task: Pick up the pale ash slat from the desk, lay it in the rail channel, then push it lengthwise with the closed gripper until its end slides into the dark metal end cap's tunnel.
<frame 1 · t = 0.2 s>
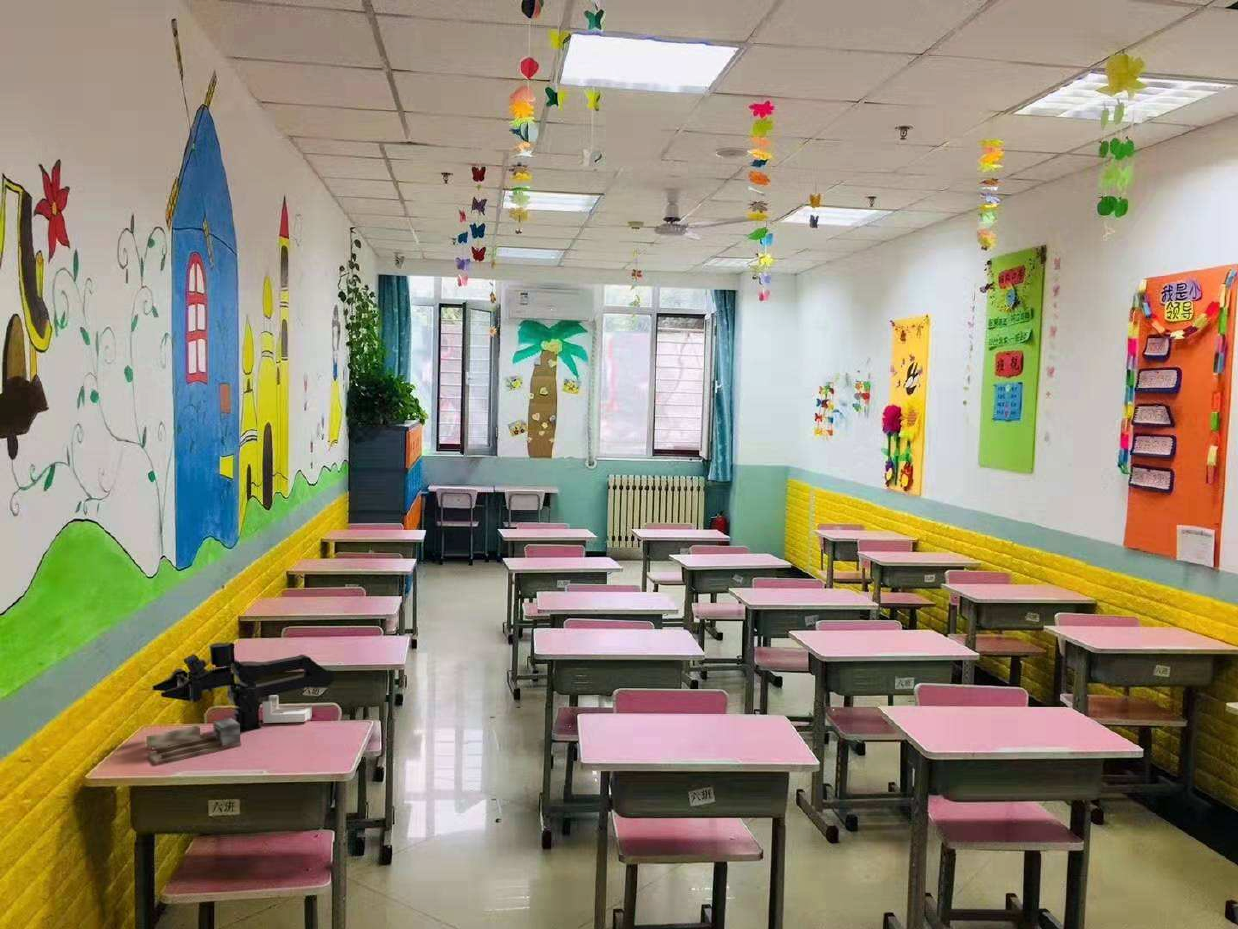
hand: (156, 691, 272), 17 cm above the table, tool horizontal, fingers open, 9 cm apart
slat base: (200, 750, 270), on the table
slat: (174, 743, 277), on the table
bracket: (287, 722, 296), on the table
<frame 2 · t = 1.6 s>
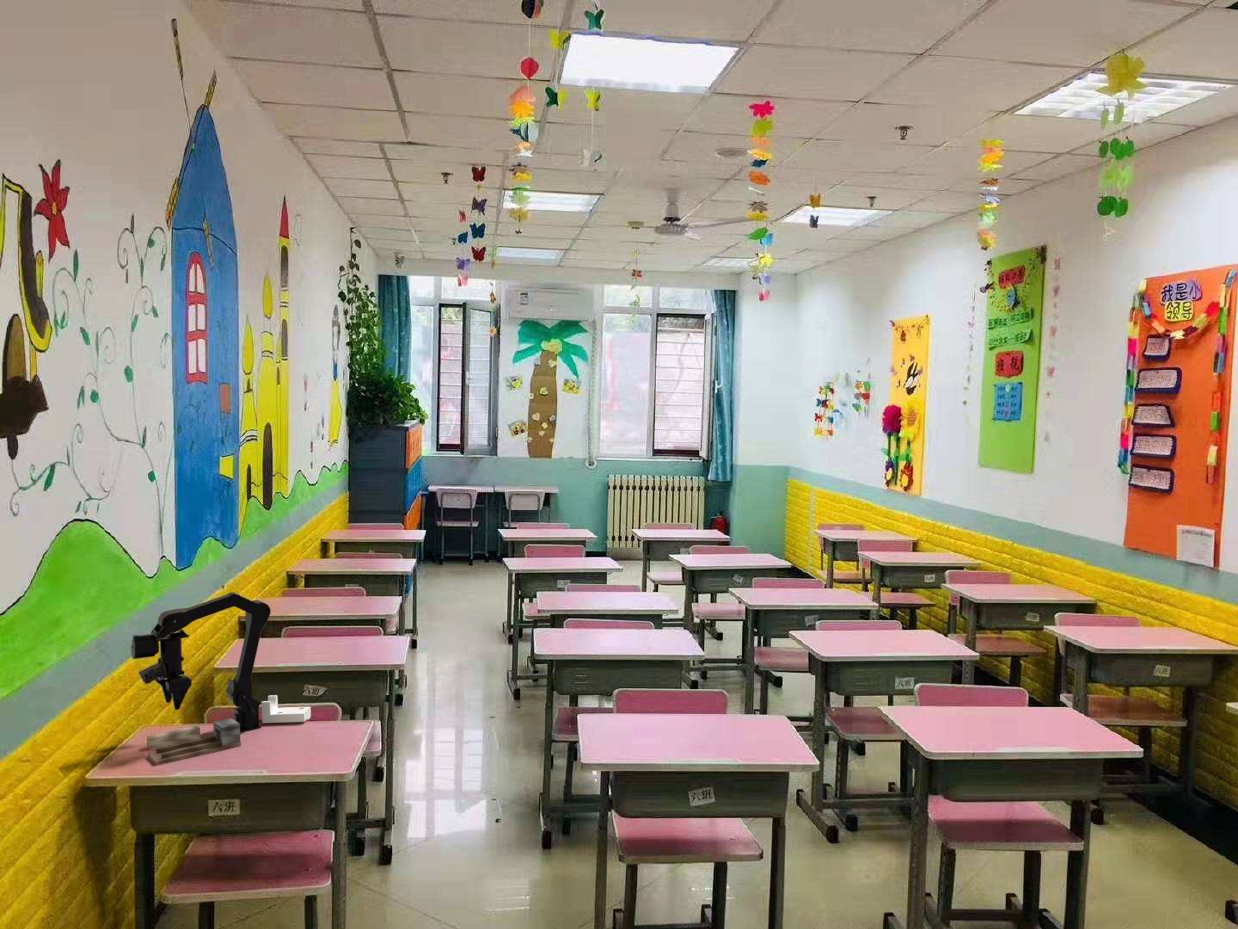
hand: (172, 706, 276), 11 cm above the table, tool pointing down, fingers open, 9 cm apart
nothing on the table moved.
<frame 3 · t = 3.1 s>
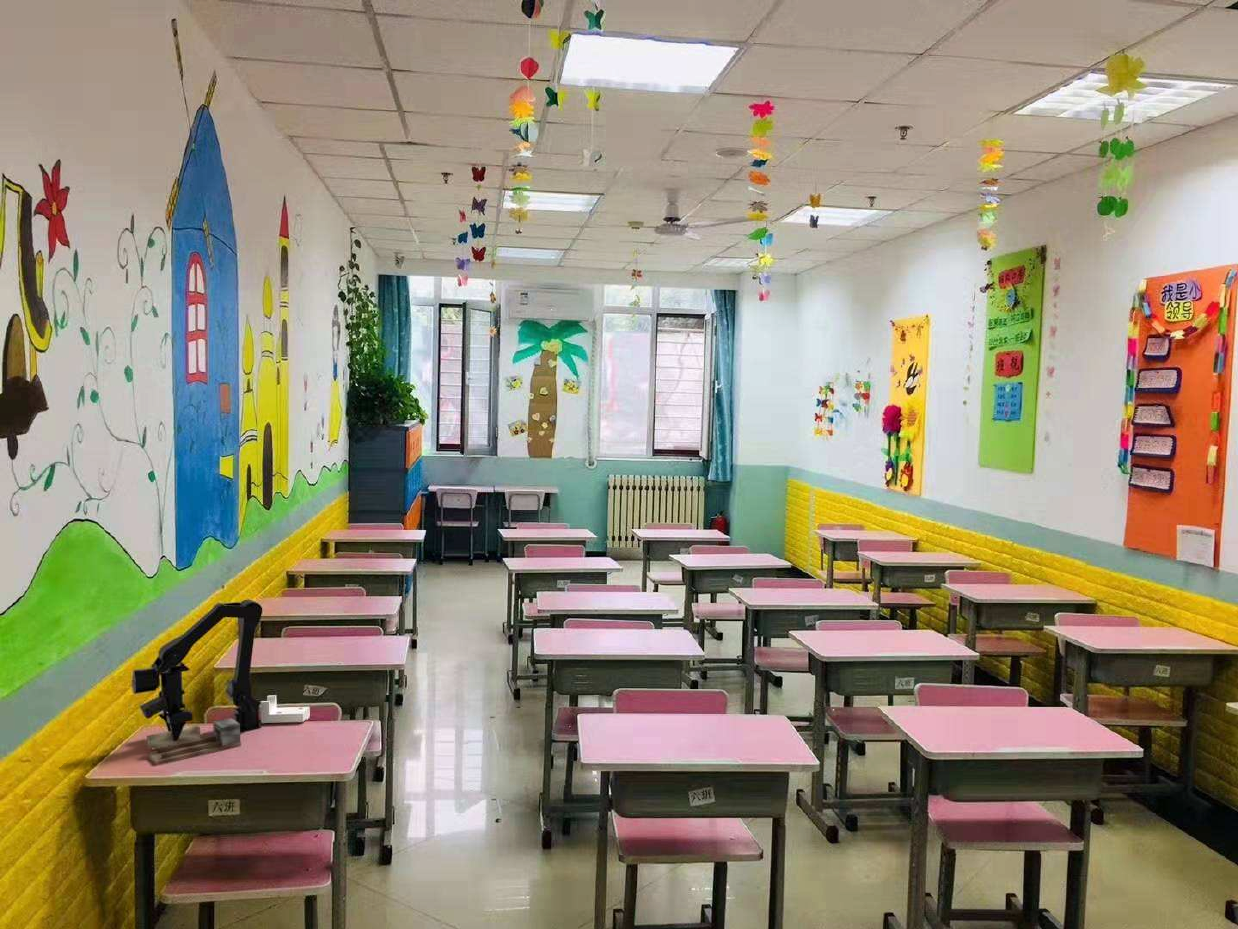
hand: (173, 739, 277), 1 cm above the table, tool pointing down, fingers closed on slat, 3 cm apart
slat: (174, 743, 277), on the table, touching gripper
everything else where it was.
when the fingers open (3 cm above the table, at t = 7.0 s): slat drops 1 cm, resting on slat base.
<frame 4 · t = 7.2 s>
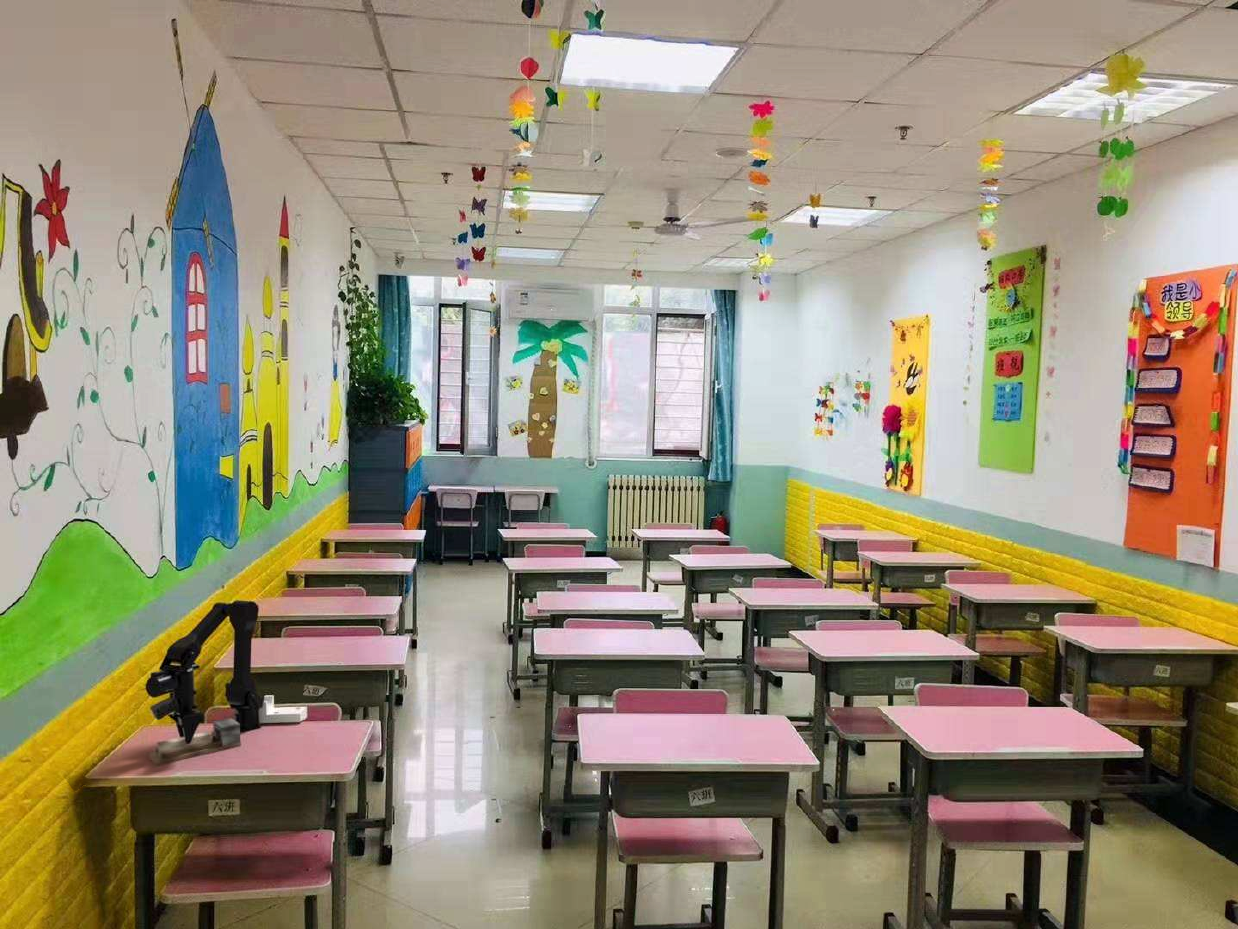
hand: (185, 741, 267), 3 cm above the table, tool pointing down, fingers open, 5 cm apart
slat: (185, 750, 268), point 1 cm above the table, touching slat base
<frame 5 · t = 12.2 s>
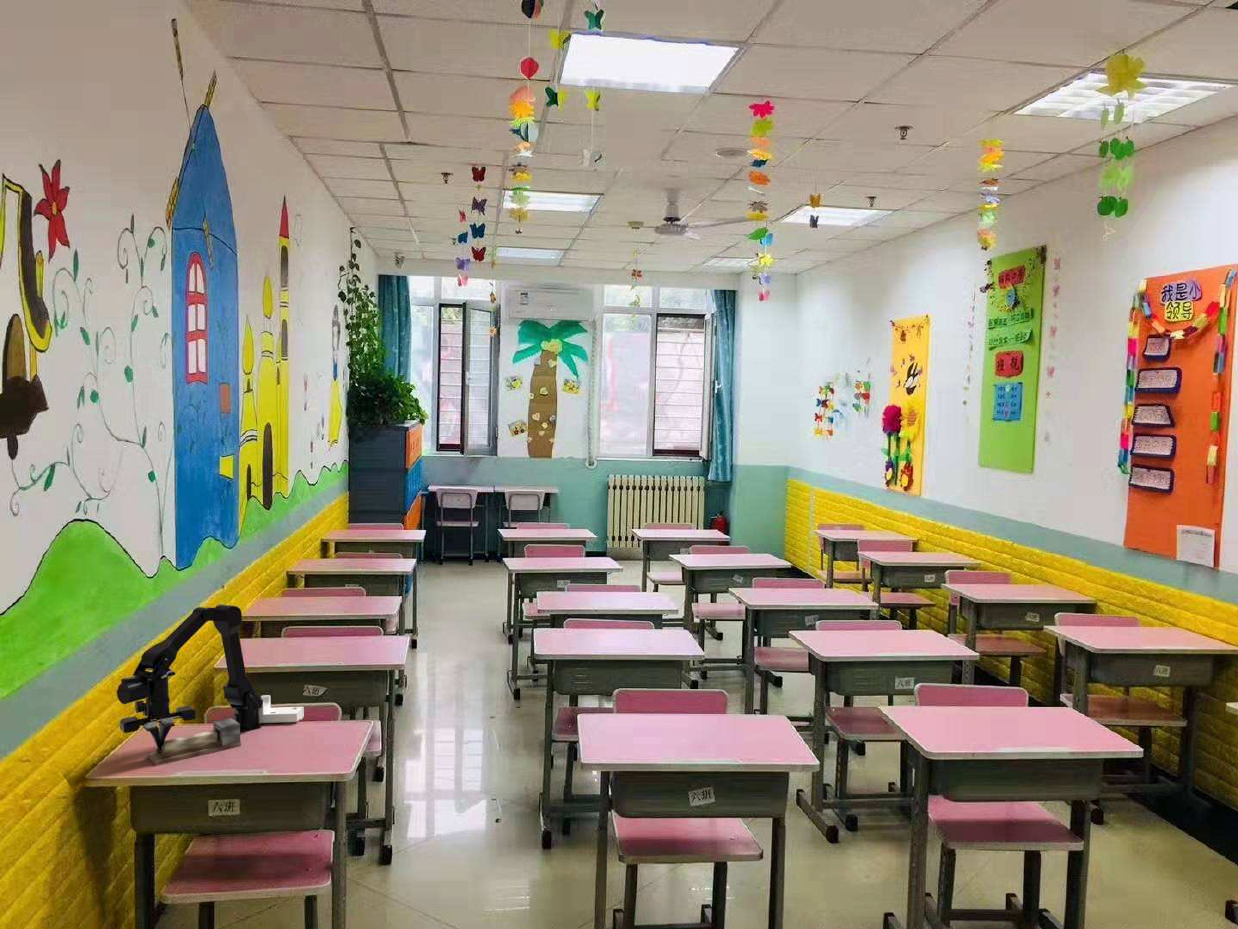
hand: (159, 749, 263), 3 cm above the table, tool pointing down, fingers closed
slat: (190, 749, 268), point 1 cm above the table, touching gripper
bracket: (279, 722, 296), on the table
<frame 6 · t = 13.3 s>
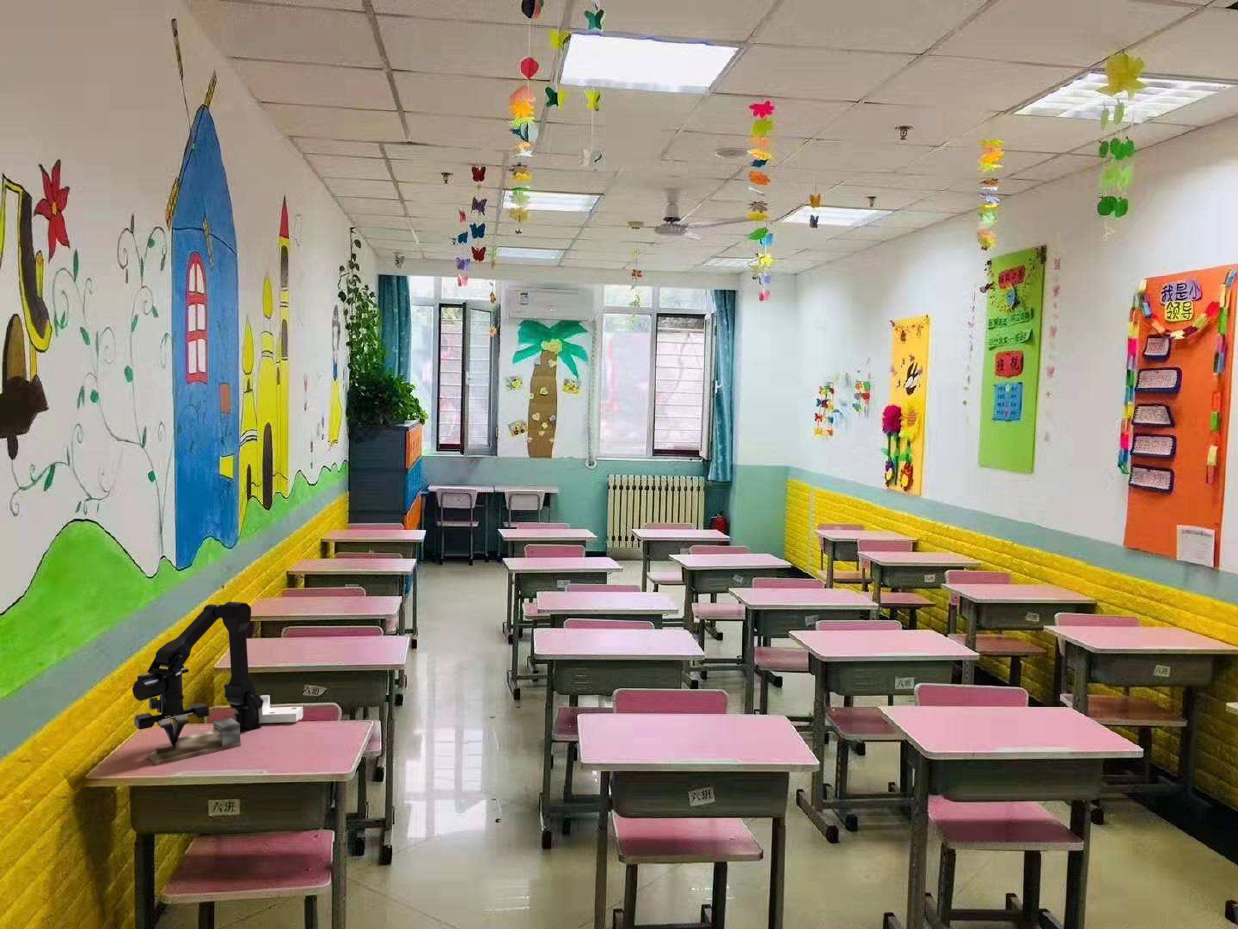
hand: (173, 745, 265), 3 cm above the table, tool pointing down, fingers closed
slat: (203, 746, 271), point 1 cm above the table, touching gripper, slat base
everything else where it was.
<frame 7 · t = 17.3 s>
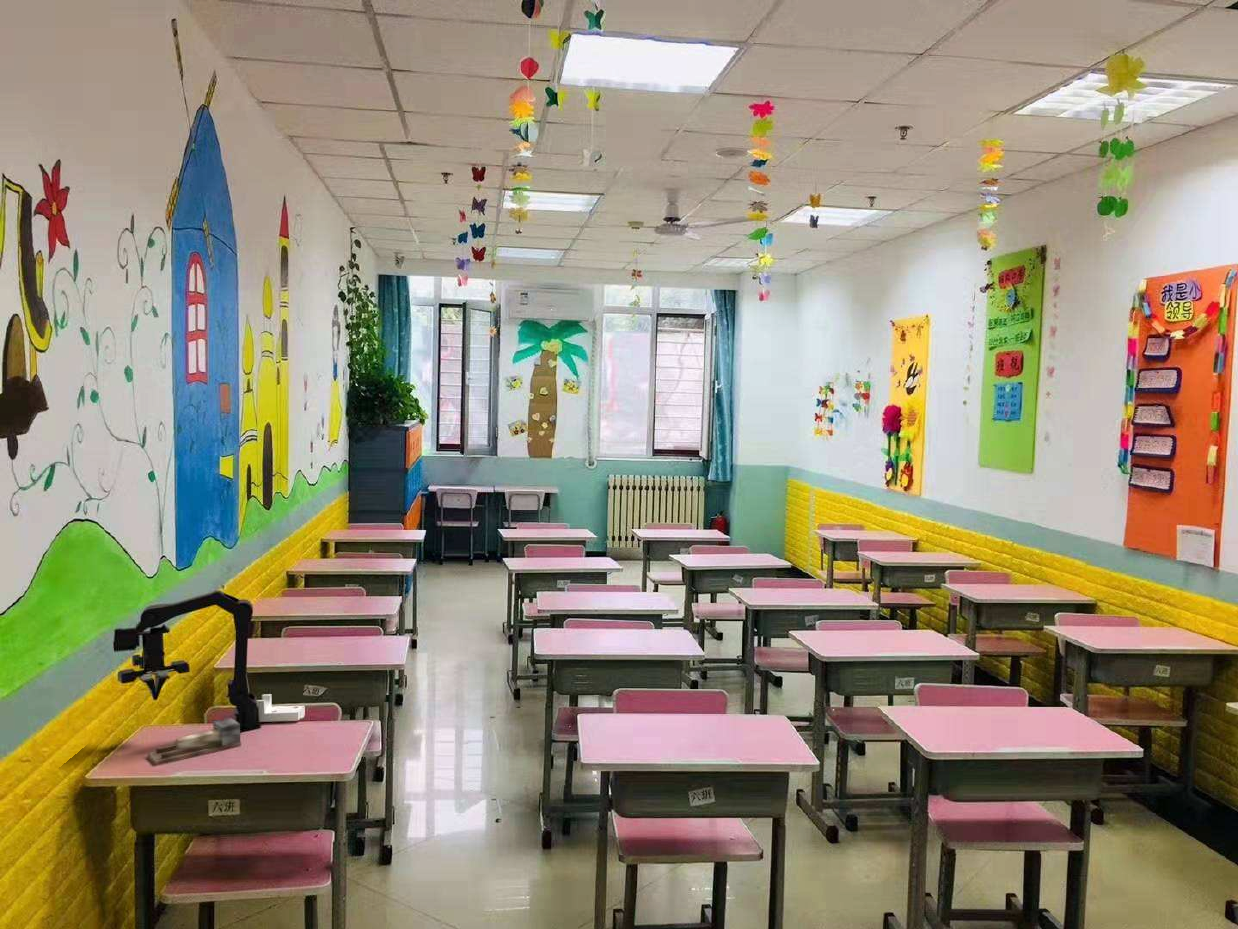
hand: (155, 699, 280), 12 cm above the table, tool pointing down, fingers closed
slat: (203, 746, 271), point 1 cm above the table, touching slat base
bracket: (281, 721, 297), on the table
at the end: slat 1.0 cm from the target spot, point 1.0 cm above the table; slat tilted 0°; the gripper is holding nothing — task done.
